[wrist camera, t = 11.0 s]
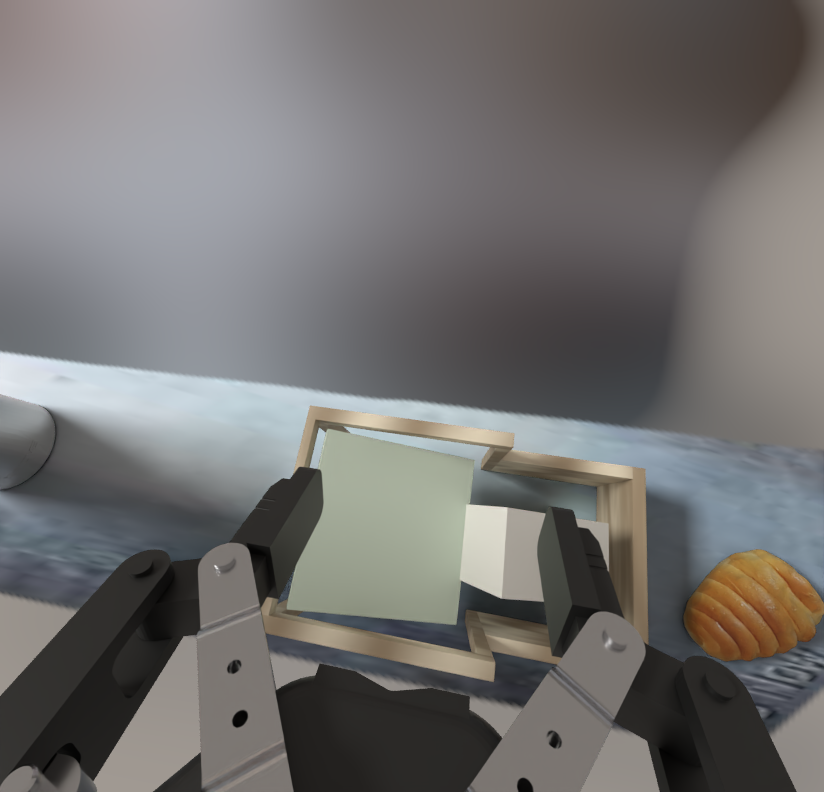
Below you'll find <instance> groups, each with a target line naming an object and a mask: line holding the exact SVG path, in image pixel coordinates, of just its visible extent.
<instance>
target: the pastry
mask: <svg viewBox="0 0 824 792" xmlns="http://www.w3.org/2000/svg"><path fill="white" fill-rule="evenodd" d="M823 615H824V603H823V601H822V600H821V598H820V596H819V595H818V593H817V592H816V590H815V589H814V588H813V587H812V585H811V584H810V583H809V581H808V580H806V579H805V578H804V577H803V576H801V575H800V574H799V573H797V572H796V571H795V569H794V568H793V567H791V566H790V565H789V564H787V563H786V562H784V561H783V560H781V559H780V558H778V557H776V556H774V555H772V554H770V553H768V552H767V551H764V550H758V549H756V550H751V551H746V552H742V553H735V554H733V555H731V556H729V557H728V558H726V559H724V560H723V561H721V562H719V564H718V565H717V566H716V567H715V568H714V569H713V570H712V571H711V572H710V573H709V574H708V575H707V576H706V577H705V579H704V580H703V582H702V583H701V584H700V585H699V587H698V588H697V589H696V590H695V592H694V593H693V594H692V596H691V597H690V599H689V600H688V602H687V605H686V609H685V612H684V616H683V619H684V625H685V628H686V630H687V631H688V633H689V635H690V636H691V638H692V639H693V640H694V641H695V642H696V643H697V644H698V645H699V646H700V647H701V648H702V649H703V650H704V651H705V652H706V653H707V654H709V655H710V656H713V657H715V658H718V659H721V660H723V661H732V660H746V661H752V660H753V659H754V658H757V657H763V658H764V657H771V656H773V655H774V654H775V653H786V652H787V651H789V650H790V649H792V648H794V647H796V645H797V641H802V642H808V641H810V640H811V639H812V638H813V637H814V636H815V633H816V628H815V625H817V624H819V622H820V620H821V618H822V616H823Z"/></svg>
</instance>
